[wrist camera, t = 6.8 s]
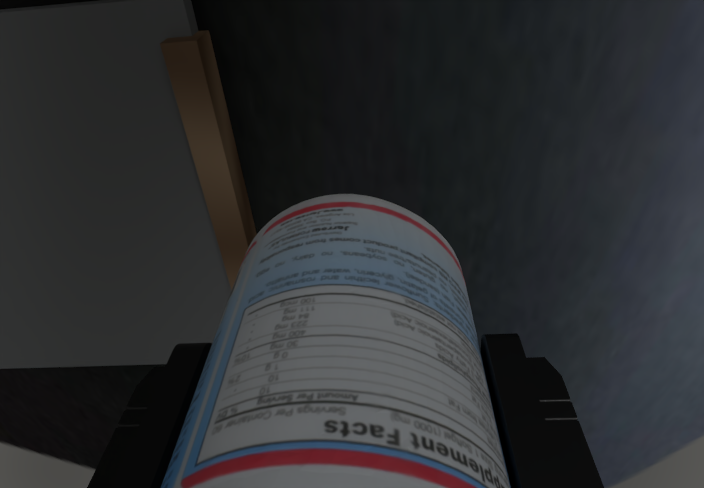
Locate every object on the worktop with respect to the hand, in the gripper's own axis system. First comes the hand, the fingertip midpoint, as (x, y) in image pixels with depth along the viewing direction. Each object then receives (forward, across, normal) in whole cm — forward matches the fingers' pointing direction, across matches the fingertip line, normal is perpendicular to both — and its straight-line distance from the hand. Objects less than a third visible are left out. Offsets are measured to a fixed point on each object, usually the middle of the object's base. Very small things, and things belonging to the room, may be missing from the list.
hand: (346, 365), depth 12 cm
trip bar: (+7, +4, 0) cm, 8 cm away
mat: (+7, +12, 0) cm, 14 cm away
